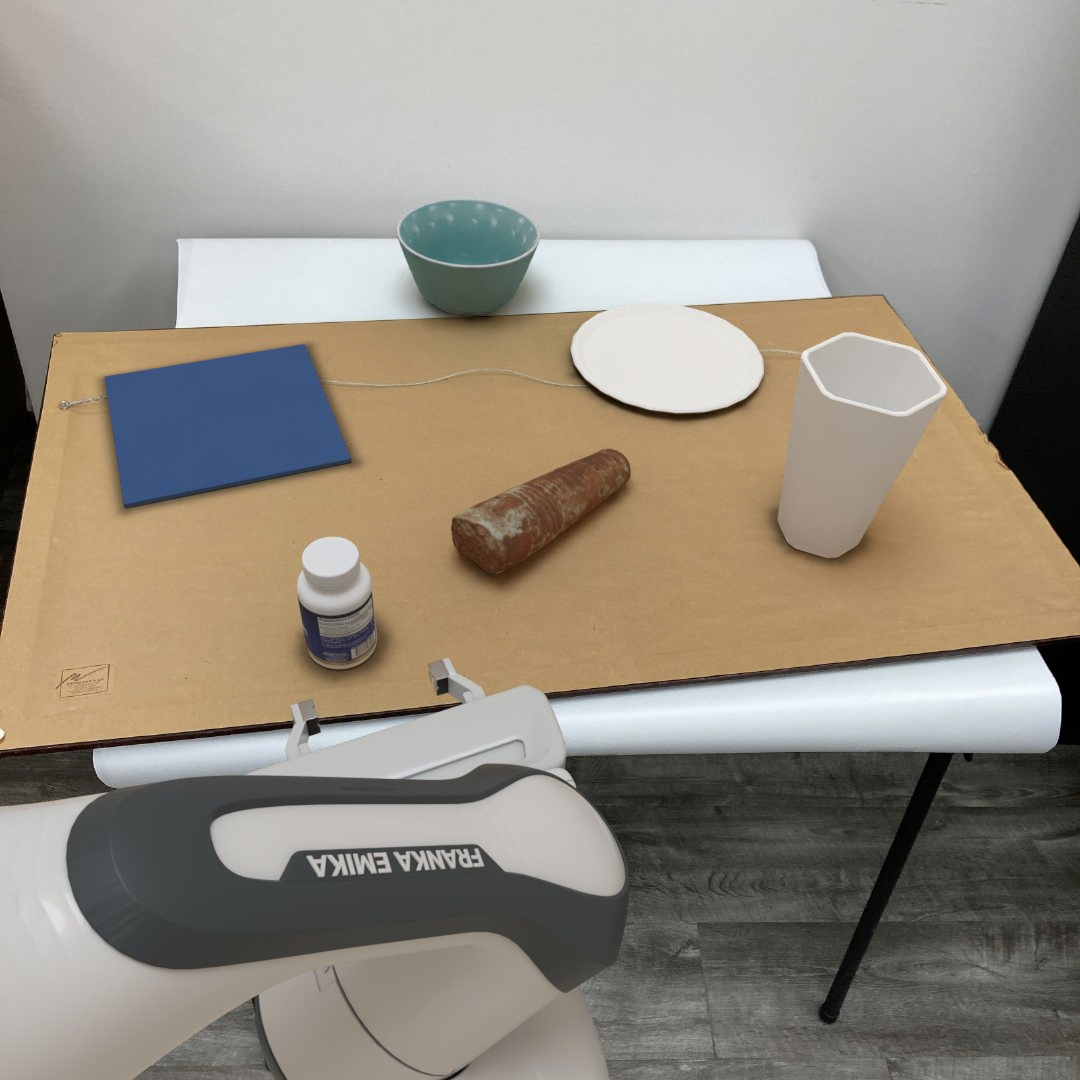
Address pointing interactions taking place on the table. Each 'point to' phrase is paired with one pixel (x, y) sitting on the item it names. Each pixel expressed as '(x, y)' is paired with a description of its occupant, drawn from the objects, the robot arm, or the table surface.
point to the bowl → (467, 253)
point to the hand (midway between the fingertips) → (371, 685)
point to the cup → (851, 437)
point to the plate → (667, 358)
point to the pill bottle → (336, 604)
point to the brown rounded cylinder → (536, 510)
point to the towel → (220, 424)
